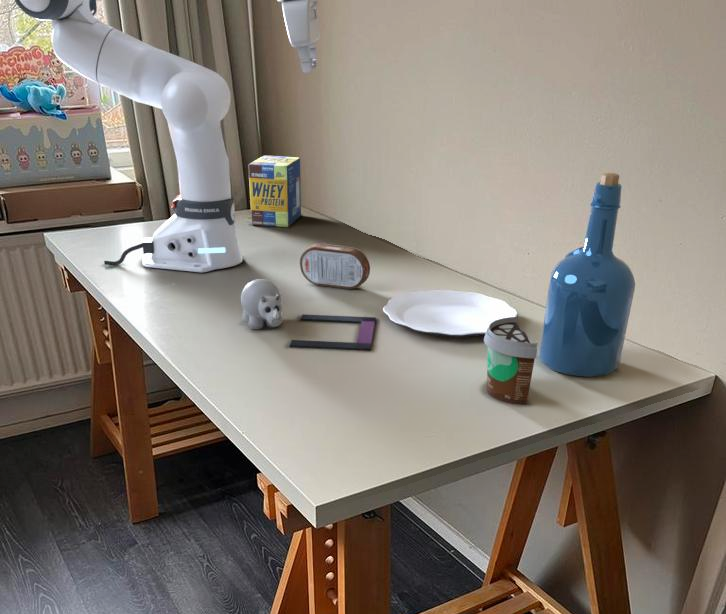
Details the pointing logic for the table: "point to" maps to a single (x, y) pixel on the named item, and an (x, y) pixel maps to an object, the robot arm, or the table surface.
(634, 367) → the table surface
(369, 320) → the u-shaped frame
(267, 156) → the protein box
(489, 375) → the food container
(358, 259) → the tin
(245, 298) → the toy rhinoceros
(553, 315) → the wine bottle
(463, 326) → the plate
